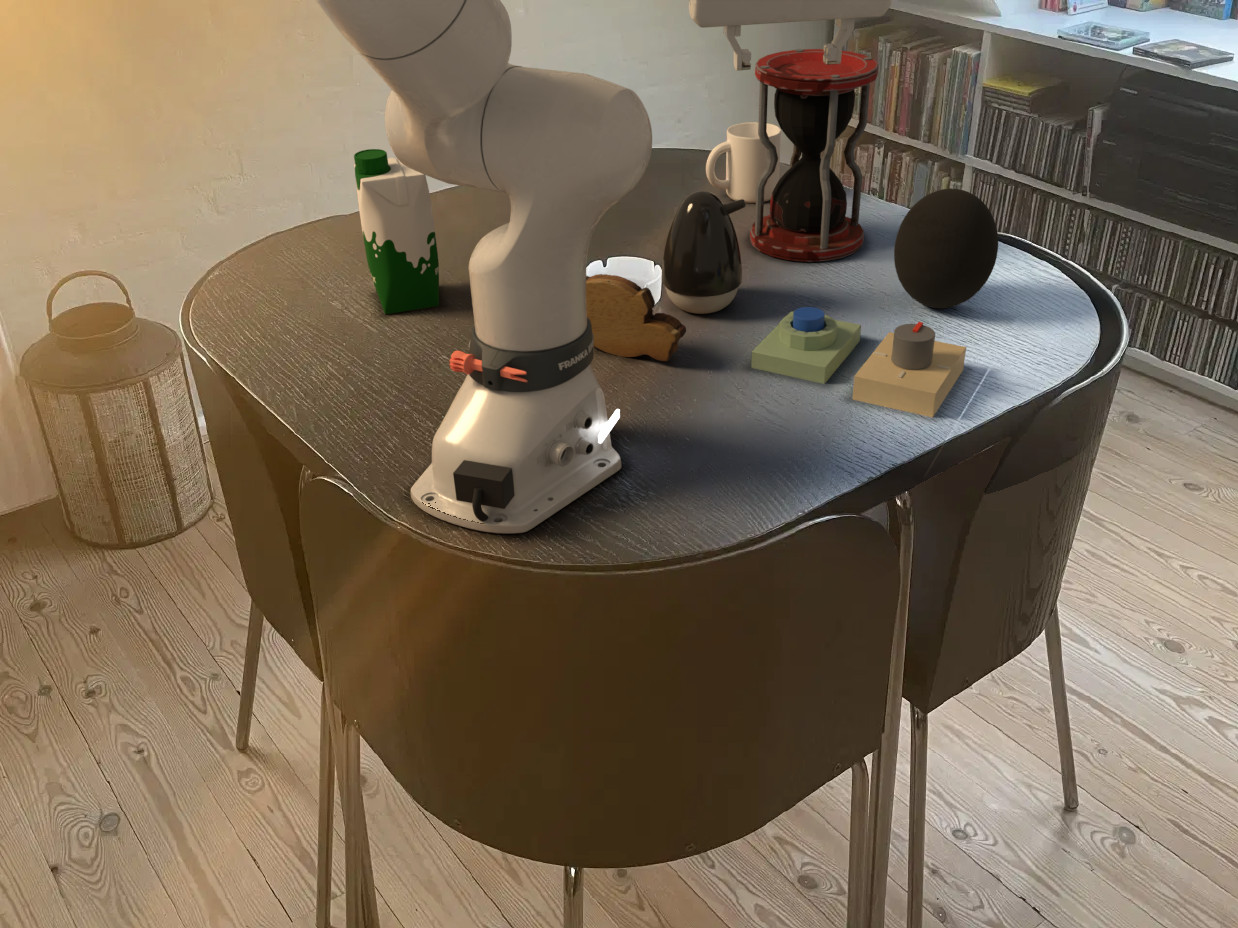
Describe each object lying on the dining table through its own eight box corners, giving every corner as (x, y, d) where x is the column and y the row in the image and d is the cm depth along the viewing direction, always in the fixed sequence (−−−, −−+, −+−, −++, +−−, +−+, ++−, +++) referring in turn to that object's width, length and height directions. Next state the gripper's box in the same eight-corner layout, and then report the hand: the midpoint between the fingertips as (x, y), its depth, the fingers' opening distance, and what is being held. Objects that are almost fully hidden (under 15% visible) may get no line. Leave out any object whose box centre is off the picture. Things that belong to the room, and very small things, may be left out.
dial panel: (932, 417, 126) (936, 392, 124) (852, 399, 130) (854, 374, 128) (963, 370, 134) (966, 345, 133) (886, 354, 138) (889, 330, 137)
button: (817, 336, 135) (818, 322, 134) (788, 330, 136) (788, 316, 136) (828, 323, 138) (829, 310, 137) (799, 318, 139) (800, 304, 138)
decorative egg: (926, 277, 157) (939, 167, 149) (1008, 304, 149) (1026, 189, 141) (869, 305, 150) (879, 191, 142) (951, 335, 142) (967, 217, 134)
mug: (715, 210, 180) (716, 144, 174) (696, 193, 187) (696, 129, 181) (787, 199, 183) (790, 134, 177) (765, 183, 190) (767, 119, 184)
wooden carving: (692, 356, 139) (693, 278, 134) (677, 373, 136) (676, 294, 131) (570, 333, 146) (566, 257, 140) (553, 348, 142) (547, 272, 137)
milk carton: (369, 292, 158) (346, 146, 147) (436, 282, 160) (418, 137, 149) (379, 319, 151) (355, 167, 140) (448, 308, 153) (430, 157, 142)
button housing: (824, 384, 133) (826, 352, 131) (751, 368, 137) (752, 337, 134) (860, 341, 141) (862, 311, 139) (790, 327, 145) (791, 297, 143)
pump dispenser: (738, 325, 146) (741, 208, 138) (655, 320, 148) (653, 204, 140) (747, 291, 154) (750, 179, 146) (669, 287, 156) (668, 176, 148)
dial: (925, 373, 128) (929, 342, 126) (885, 365, 130) (889, 334, 128) (936, 356, 131) (940, 325, 129) (898, 348, 133) (901, 318, 131)
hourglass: (736, 226, 174) (740, 53, 161) (840, 216, 176) (852, 44, 163) (769, 268, 161) (776, 82, 147) (880, 256, 163) (898, 72, 150)
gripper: (692, -69, 110) (692, 80, 118) (904, -81, 112) (891, 67, 119) (681, -79, 116) (682, 65, 123) (884, -90, 117) (873, 52, 125)
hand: (787, 66), depth 121 cm, fingers open, 8 cm apart
